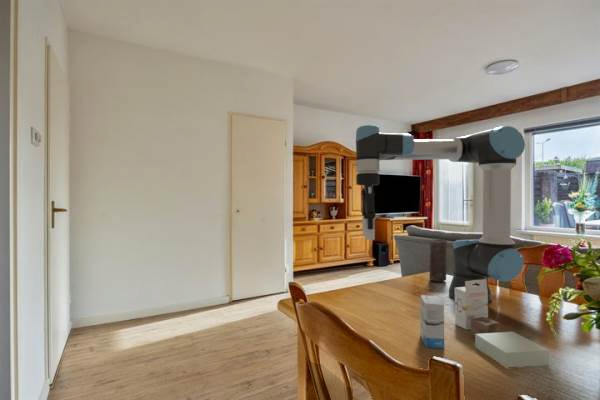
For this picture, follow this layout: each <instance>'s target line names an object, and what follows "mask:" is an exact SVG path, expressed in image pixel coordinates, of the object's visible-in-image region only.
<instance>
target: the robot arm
mask: <svg viewBox="0 0 600 400" xmlns="http://www.w3.org/2000/svg"><path fill="white" fill-rule="evenodd" d="M525 143H526V142H525V138H524V136H523V134H522V133H521V132H519V130H518V128H516V127H513V126H510V125H503V126H497V127H493V128H490V129H487V130H483V131H479V132H475V133H472V134H468V135H465V136H458V137H457V136H454V137H451V138H450V139H415V138H414V136H413V135H412V134H410V133H403V132H401V133H400V132H398V133H397V132H393V133H392V132H380V128H379V126H378V125H374V124H367V125H361V126H358V127H357V129H356V131H355V150H356V151H355V152H356V153H355V154H356V158H355V161H356V162H355V163H354V166H355V167H356V168H355V170H356V173H357V174H356V176H355V178H356V179H355V183H356V185H357V186H363V187H362V189H361V202H362V205H361V206H362V207H361V216H362V221H361V222H362V223H361V224H362V236H365V241H367V240H368V241H375V239H376V237H375V236H376V230H375V229H376V228H375V227H376V225H375V224H376V223H375V220H376V219H375V217H376V214H377V213H376V206H375V205H376V204H375V203H376V202H375V187H374V186H379V185H380V173H379V172H380V161H392V160H393V161H397V160H399V161H400V160H401V161H402V160H406V161H407V160H414V161H415V160H449V162H451V163H473V164H478V167H479V168H480V169H481V170H482V171H483V172H482V174H483V175H482V178H483V180H482V185H483V186H482V190H483V191H482V235H481V237H479V238H478V239H456V240H455V241H453V246H452V251H453V252H452V254H453V255H452V262H453V263H452V264H453V265H452V266H453V269H452V270H453V271H452V272H453V273H452V274H453V276H452V279H451V282H450V284H449V285H450V286H449V288H448V296H449V297H450V298H452V299H454V300H455V289H454V288H457V287H465V281H472V280H483V279H486V280H487V278H489V279H492V280H494V281H500V282H511V281H513V280H515V279H516V278H517V277H518V276H520V274H521V273H522V271H523V268H524V257H523V255H522V254H521V252H519V250H517V249H516V242H515V241H514V240H513V239H512V238H511V217H512V216H511V213H512V212H511V211H512V210H511V208H512V207H511V206H512V204H511V203H512V202H511V201H512V200H511V199H512V198H511V196H512V169H513V168H515V167H516V166H517V158H519V157H520V156H521V155H522V154H523V153H524V151H525V146H526V144H525ZM475 285H476V286H479V285H480V284H477V283H475V284H473V285H472V286H475ZM487 289H488V303H489V302H491V301H492V292H491V290H490V287H489V283H487Z"/></svg>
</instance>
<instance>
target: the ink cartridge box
mask: <svg viewBox="0 0 600 400" xmlns="http://www.w3.org/2000/svg"><path fill="white" fill-rule="evenodd" d="M475 283H477V284H480V285H479V286H476V285H475V286H472V285H473V284H475ZM487 284H488V280H487V278H486V279H483V280H472V281H465V287H457V288H454V289H455V299H454V322H455V323H454V324H455V325H456V326H458V327H461V329H464V330H471V319H474V318H479V317H486V318H488V319H489V302H488V289H487Z"/></svg>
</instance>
